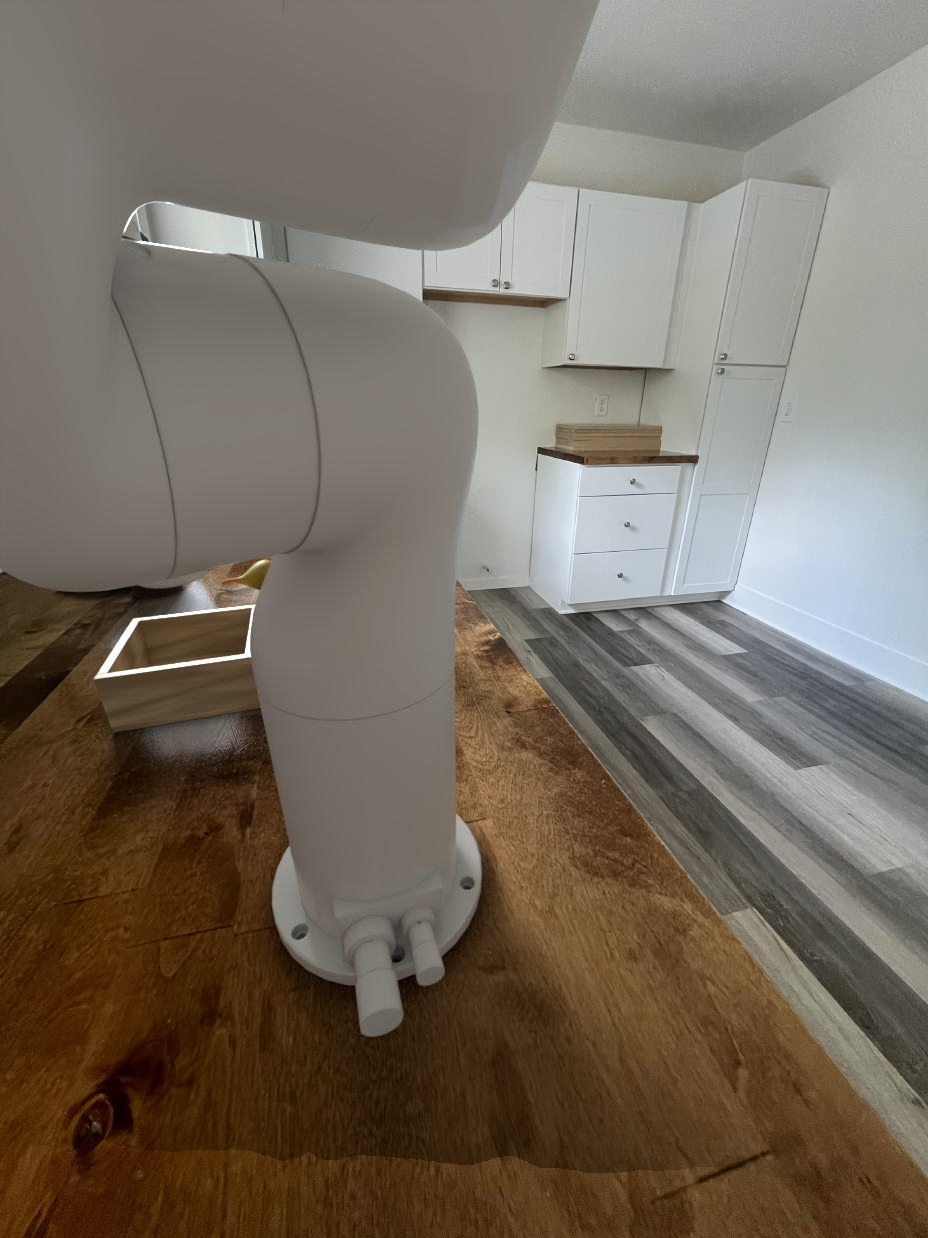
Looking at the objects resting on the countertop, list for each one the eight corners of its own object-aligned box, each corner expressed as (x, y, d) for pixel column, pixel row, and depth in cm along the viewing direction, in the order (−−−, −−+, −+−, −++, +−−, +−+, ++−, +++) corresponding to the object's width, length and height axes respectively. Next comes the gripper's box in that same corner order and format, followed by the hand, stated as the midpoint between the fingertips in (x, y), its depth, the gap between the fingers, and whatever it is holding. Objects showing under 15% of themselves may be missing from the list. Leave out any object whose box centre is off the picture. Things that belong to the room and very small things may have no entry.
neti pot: (223, 611, 68) (213, 566, 65) (325, 584, 77) (319, 543, 74) (235, 622, 65) (224, 574, 62) (338, 592, 74) (333, 550, 71)
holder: (263, 707, 48) (253, 656, 45) (113, 733, 44) (92, 679, 42) (268, 647, 59) (259, 603, 56) (147, 664, 55) (132, 618, 53)
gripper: (-92, 252, 31) (19, 535, 39) (213, 269, 36) (258, 518, 43) (-26, 274, 37) (57, 514, 45) (224, 286, 42) (261, 501, 50)
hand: (155, 514), depth 44 cm, fingers closed on pill bottle, 6 cm apart
